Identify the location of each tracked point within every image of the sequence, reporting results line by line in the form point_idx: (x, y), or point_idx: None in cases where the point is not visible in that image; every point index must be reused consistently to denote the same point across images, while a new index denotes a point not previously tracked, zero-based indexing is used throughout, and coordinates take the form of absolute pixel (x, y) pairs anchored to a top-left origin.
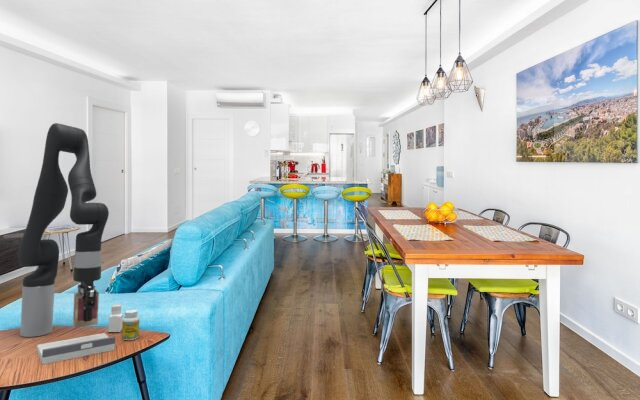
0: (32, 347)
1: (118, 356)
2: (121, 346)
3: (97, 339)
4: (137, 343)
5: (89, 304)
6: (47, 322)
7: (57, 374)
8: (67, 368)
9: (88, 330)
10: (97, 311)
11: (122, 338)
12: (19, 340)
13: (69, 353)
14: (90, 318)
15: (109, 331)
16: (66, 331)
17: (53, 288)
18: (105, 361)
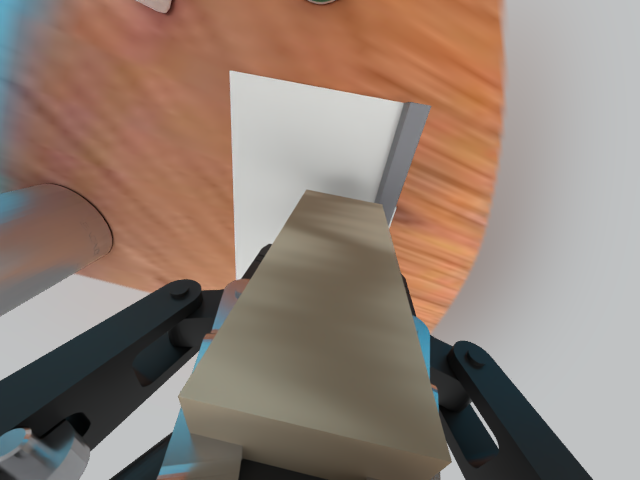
0: (205, 268)
1: (498, 131)
2: (400, 58)
3: (386, 183)
4: None
5: (468, 403)
6: (53, 226)
7: (447, 299)
8: (432, 274)
9: (88, 78)
10: (391, 249)
11: (320, 2)
12: (130, 268)
13: None
14: (403, 277)
15: (165, 8)
16: (78, 152)
17: None
18: (492, 188)
